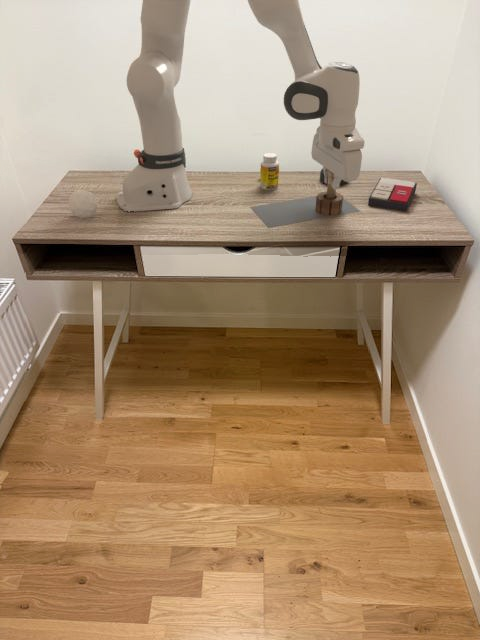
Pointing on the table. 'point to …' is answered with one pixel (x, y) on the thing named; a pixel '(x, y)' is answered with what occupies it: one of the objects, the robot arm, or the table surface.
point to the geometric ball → (83, 204)
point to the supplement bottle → (269, 172)
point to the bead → (329, 204)
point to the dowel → (330, 190)
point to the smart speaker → (324, 178)
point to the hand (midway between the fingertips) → (331, 185)
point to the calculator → (392, 194)
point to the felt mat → (295, 211)
